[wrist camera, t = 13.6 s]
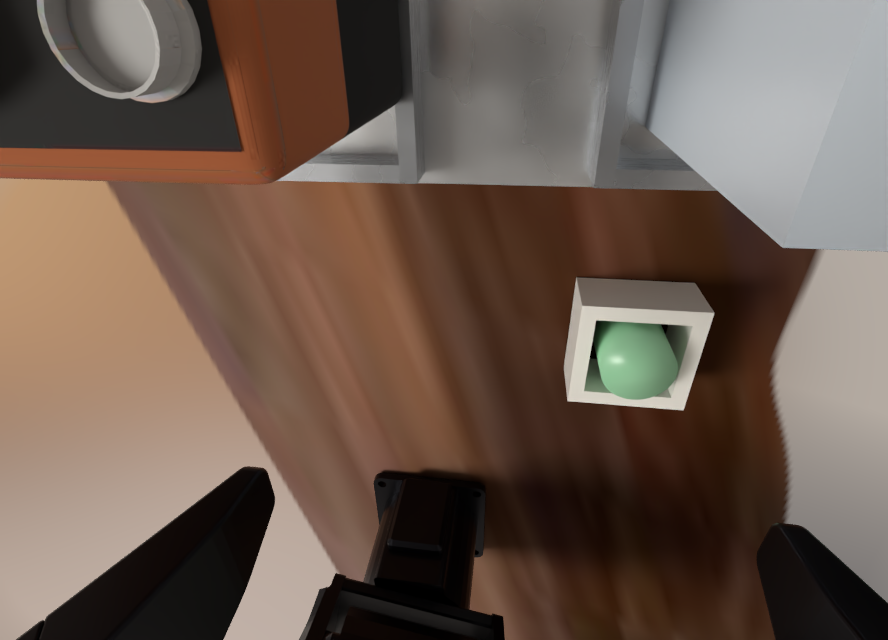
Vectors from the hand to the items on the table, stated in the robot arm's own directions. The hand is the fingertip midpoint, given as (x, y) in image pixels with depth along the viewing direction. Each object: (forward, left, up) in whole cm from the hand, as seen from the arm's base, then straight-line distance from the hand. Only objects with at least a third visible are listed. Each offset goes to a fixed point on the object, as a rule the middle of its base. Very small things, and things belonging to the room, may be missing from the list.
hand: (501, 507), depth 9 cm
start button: (-4, -5, -13) cm, 14 cm away
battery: (+7, +7, -10) cm, 15 cm away
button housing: (-4, -5, -13) cm, 14 cm away
